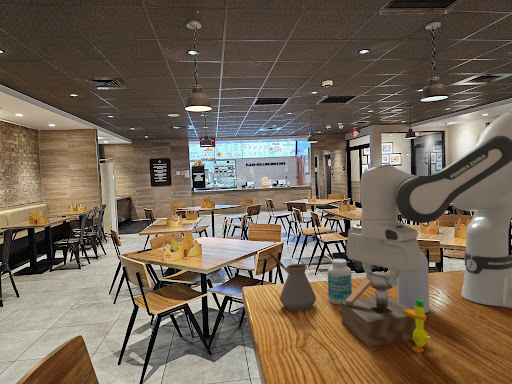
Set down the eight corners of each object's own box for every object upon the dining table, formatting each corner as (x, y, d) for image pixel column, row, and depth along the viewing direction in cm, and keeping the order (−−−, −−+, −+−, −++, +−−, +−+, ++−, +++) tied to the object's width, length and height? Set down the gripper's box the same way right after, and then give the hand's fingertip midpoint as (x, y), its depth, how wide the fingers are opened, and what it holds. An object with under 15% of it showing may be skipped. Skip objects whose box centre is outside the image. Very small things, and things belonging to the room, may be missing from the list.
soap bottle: (389, 308, 104) (387, 230, 103) (410, 301, 108) (408, 226, 107) (414, 317, 97) (412, 234, 95) (436, 310, 101) (434, 230, 100)
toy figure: (399, 346, 81) (398, 296, 81) (409, 341, 83) (407, 293, 83) (426, 358, 76) (425, 305, 75) (436, 353, 77) (434, 301, 77)
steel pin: (391, 302, 90) (390, 272, 90) (394, 309, 85) (393, 277, 85) (370, 301, 91) (369, 271, 91) (372, 308, 86) (371, 277, 86)
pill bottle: (328, 305, 109) (326, 263, 108) (329, 297, 116) (327, 257, 115) (352, 306, 107) (351, 263, 106) (351, 297, 114) (350, 257, 114)
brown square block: (386, 316, 98) (386, 295, 98) (420, 338, 85) (419, 314, 84) (341, 323, 95) (341, 301, 95) (368, 346, 82) (368, 322, 81)
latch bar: (372, 276, 95) (369, 273, 95) (377, 278, 93) (374, 275, 92) (346, 304, 94) (343, 301, 93) (350, 307, 91) (347, 304, 91)
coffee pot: (324, 307, 107) (322, 260, 106) (295, 317, 101) (293, 266, 100) (283, 290, 125) (281, 249, 124) (256, 297, 119) (254, 254, 118)
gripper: (340, 226, 94) (342, 276, 95) (407, 235, 77) (409, 295, 78) (356, 223, 98) (357, 271, 98) (424, 231, 80) (425, 289, 81)
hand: (381, 282), depth 88 cm, fingers closed on steel pin, 5 cm apart
